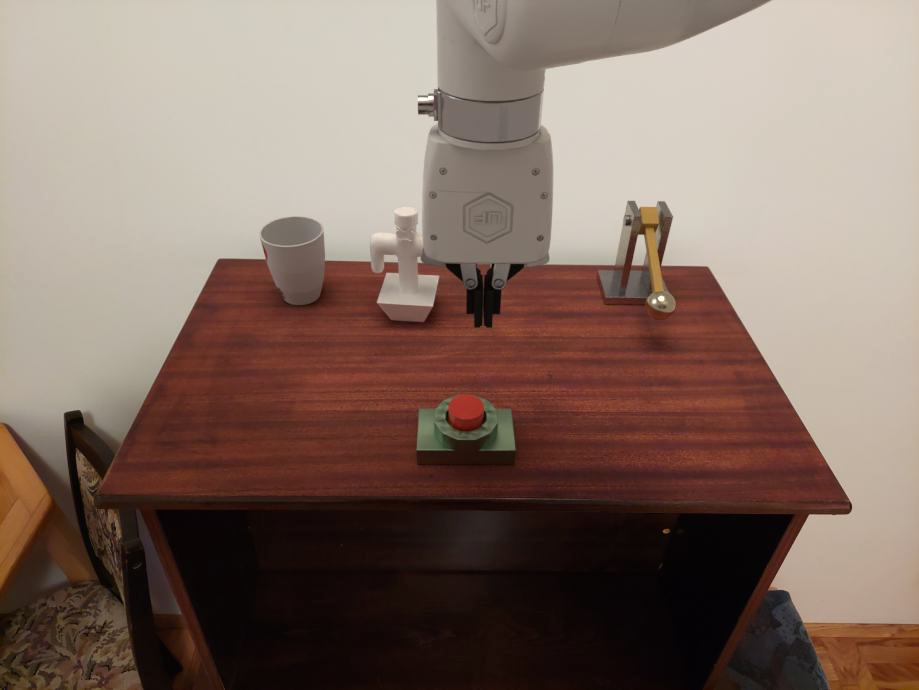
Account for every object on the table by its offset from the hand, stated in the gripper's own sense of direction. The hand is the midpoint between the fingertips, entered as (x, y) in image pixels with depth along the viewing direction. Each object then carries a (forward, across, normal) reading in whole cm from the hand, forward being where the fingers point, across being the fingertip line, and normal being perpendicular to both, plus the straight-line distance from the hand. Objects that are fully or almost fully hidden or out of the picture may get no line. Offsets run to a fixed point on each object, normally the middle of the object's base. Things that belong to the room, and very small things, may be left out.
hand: (482, 318), depth 58 cm
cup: (+16, -24, +28) cm, 40 cm away
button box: (+16, -1, 0) cm, 17 cm away
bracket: (+16, +23, +30) cm, 41 cm away
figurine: (+16, -9, +24) cm, 30 cm away
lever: (+10, +23, +24) cm, 35 cm away
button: (+13, -1, 0) cm, 13 cm away
